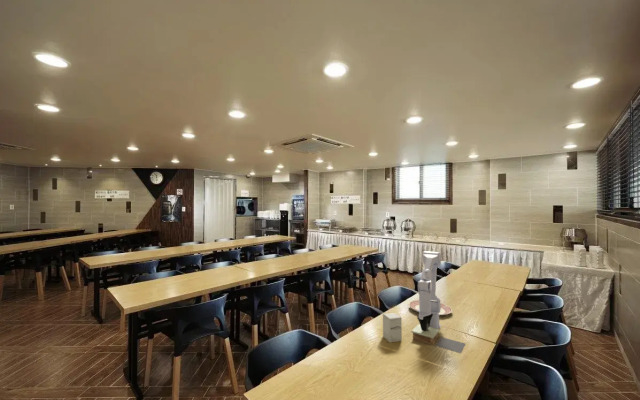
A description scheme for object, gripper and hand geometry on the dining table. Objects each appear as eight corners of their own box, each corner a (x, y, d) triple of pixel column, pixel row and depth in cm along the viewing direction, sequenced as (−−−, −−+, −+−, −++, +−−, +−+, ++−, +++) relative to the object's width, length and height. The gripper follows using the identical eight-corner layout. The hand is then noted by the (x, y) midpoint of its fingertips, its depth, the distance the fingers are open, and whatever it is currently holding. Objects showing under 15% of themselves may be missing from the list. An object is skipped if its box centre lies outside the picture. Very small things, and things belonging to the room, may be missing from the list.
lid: (418, 325, 154) (418, 317, 154) (439, 330, 147) (439, 322, 147) (411, 332, 145) (411, 324, 145) (433, 338, 138) (432, 329, 138)
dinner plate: (443, 304, 199) (443, 300, 199) (459, 319, 172) (458, 314, 172) (405, 303, 202) (405, 299, 202) (414, 318, 175) (414, 313, 175)
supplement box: (389, 343, 141) (389, 318, 142) (382, 337, 148) (382, 313, 149) (402, 341, 143) (401, 317, 144) (394, 335, 150) (394, 312, 151)
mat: (441, 337, 147) (441, 336, 147) (465, 344, 140) (465, 343, 140) (434, 346, 138) (434, 345, 138) (460, 354, 130) (460, 353, 131)
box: (419, 333, 153) (419, 326, 153) (438, 338, 146) (438, 330, 147) (412, 339, 145) (412, 332, 145) (432, 345, 139) (432, 337, 139)
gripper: (421, 298, 155) (422, 322, 154) (412, 305, 143) (413, 331, 143) (434, 300, 150) (435, 325, 150) (426, 308, 139) (426, 335, 138)
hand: (425, 328), depth 146 cm, fingers open, 5 cm apart
